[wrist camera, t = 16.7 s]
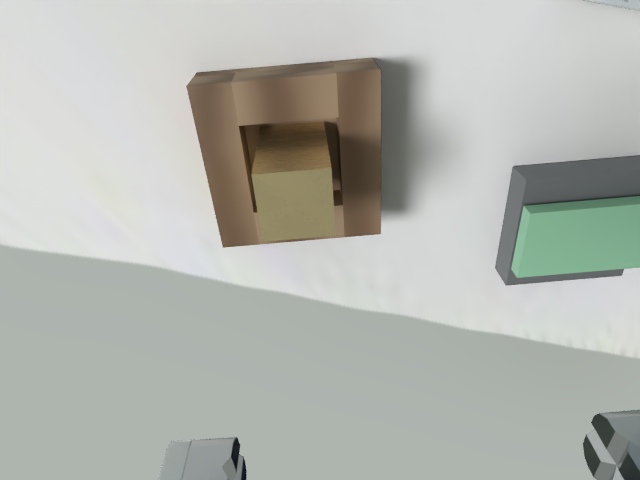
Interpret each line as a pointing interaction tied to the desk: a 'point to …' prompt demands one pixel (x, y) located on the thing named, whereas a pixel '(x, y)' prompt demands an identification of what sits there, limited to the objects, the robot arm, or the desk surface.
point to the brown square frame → (291, 108)
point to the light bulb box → (620, 3)
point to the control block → (559, 187)
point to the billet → (293, 182)
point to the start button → (578, 237)
